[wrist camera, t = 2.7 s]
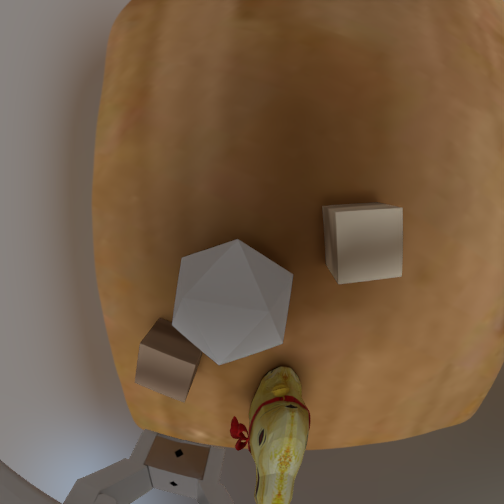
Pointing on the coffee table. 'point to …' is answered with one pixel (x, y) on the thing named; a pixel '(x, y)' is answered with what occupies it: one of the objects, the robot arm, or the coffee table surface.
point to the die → (231, 301)
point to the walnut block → (167, 361)
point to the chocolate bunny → (275, 435)
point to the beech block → (363, 241)
